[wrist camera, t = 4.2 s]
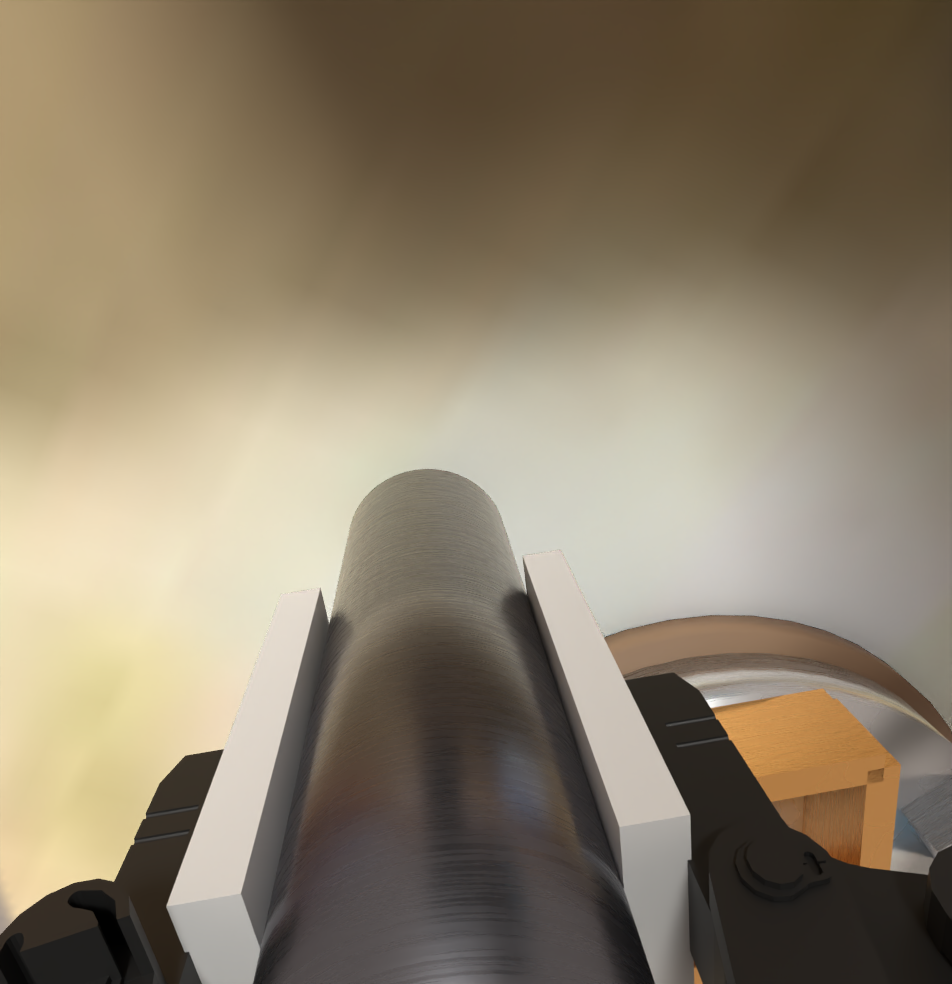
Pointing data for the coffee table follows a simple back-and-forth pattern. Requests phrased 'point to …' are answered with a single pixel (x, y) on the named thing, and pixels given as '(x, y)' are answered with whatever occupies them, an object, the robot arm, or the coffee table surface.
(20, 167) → the coffee table surface
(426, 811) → the steel pin
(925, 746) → the lugged metal disc
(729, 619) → the nut base
